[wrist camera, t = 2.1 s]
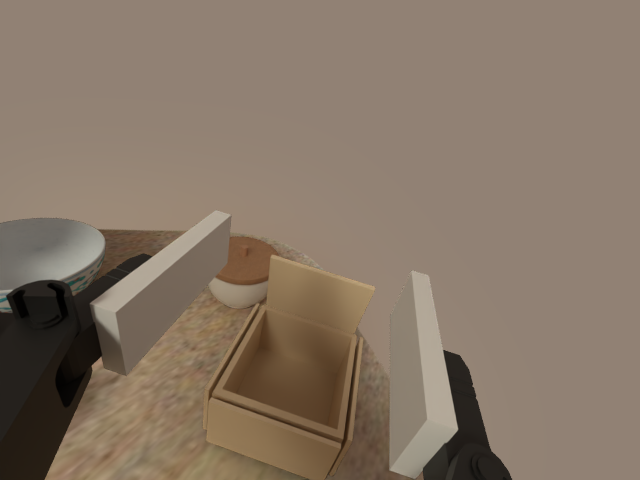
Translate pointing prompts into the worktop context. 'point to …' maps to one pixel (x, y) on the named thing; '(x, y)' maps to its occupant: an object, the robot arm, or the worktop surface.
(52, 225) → the chinaware
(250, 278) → the lidded jar
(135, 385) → the worktop surface
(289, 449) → the carton
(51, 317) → the robot arm
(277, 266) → the flap
